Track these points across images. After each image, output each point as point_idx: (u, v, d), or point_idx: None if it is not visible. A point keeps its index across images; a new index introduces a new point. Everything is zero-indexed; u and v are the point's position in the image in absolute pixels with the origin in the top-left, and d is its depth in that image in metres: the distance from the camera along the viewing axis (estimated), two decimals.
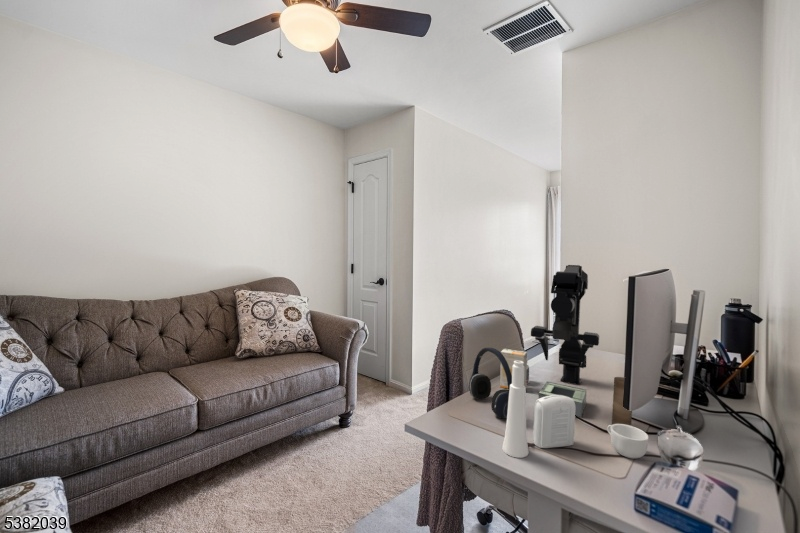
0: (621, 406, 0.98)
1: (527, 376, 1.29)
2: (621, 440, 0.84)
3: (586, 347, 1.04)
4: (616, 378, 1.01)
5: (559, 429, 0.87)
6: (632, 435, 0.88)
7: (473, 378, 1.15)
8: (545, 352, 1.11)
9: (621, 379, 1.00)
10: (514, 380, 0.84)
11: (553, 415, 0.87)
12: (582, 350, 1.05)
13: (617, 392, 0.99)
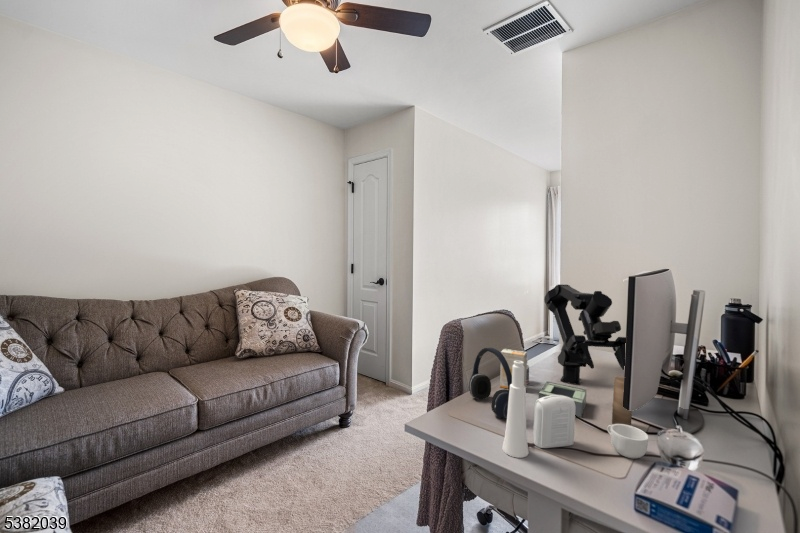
0: (621, 406, 0.98)
1: (527, 376, 1.29)
2: (621, 440, 0.84)
3: None
4: (616, 378, 1.01)
5: (559, 429, 0.87)
6: (632, 435, 0.88)
7: (473, 378, 1.15)
8: (590, 358, 1.09)
9: (621, 379, 1.00)
10: (514, 380, 0.84)
11: (553, 415, 0.87)
12: (622, 352, 1.10)
13: (617, 392, 0.99)
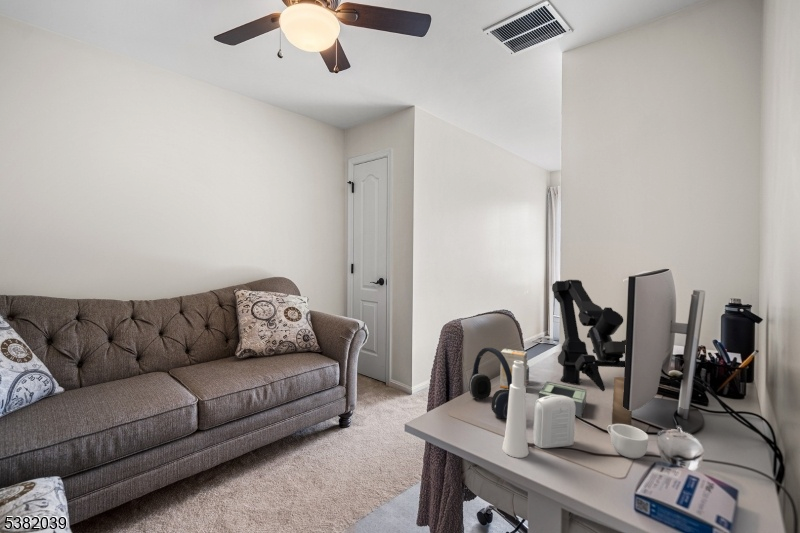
0: (621, 406, 0.98)
1: (527, 376, 1.29)
2: (621, 439, 0.84)
3: None
4: (616, 378, 1.01)
5: (559, 429, 0.87)
6: (632, 435, 0.88)
7: (473, 378, 1.15)
8: (600, 380, 1.02)
9: (621, 379, 1.00)
10: (514, 380, 0.84)
11: (553, 415, 0.87)
12: None
13: (617, 392, 0.99)
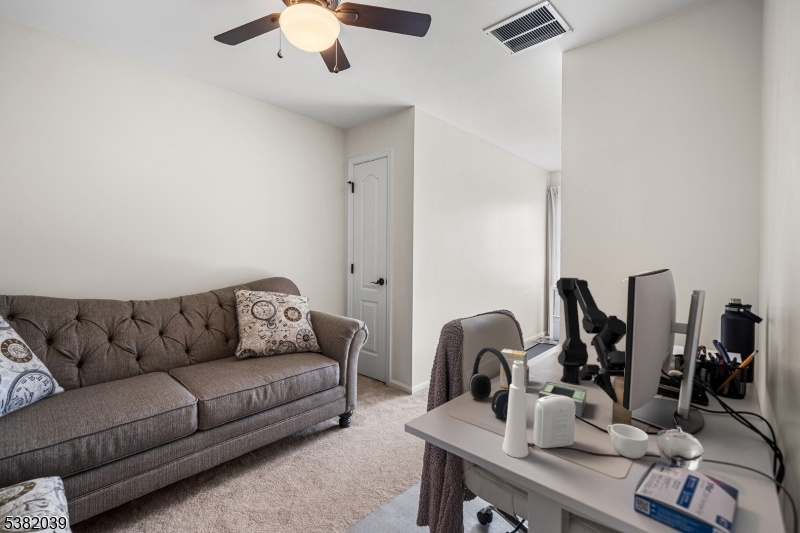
0: (621, 406, 0.98)
1: (527, 376, 1.29)
2: (621, 440, 0.84)
3: None
4: (616, 378, 1.01)
5: (559, 429, 0.87)
6: (632, 435, 0.88)
7: (473, 378, 1.15)
8: (613, 391, 1.00)
9: (621, 379, 1.00)
10: (514, 380, 0.84)
11: (553, 415, 0.87)
12: None
13: (617, 392, 0.99)
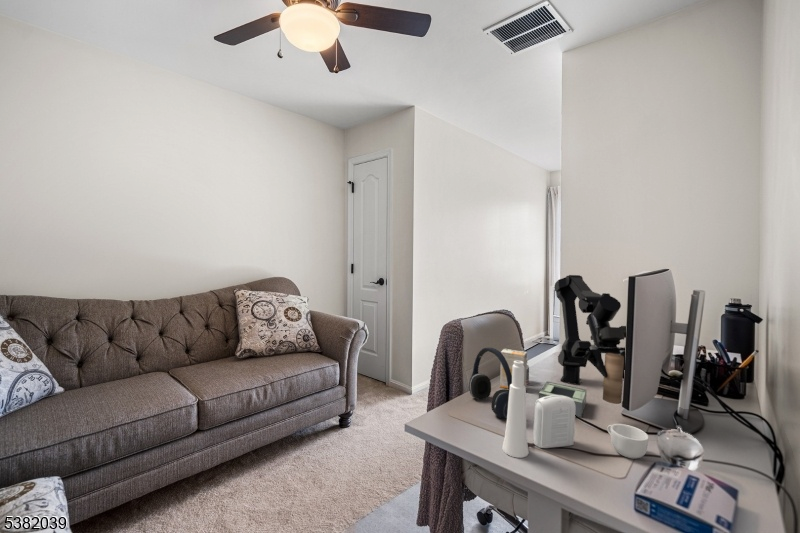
0: (611, 381, 0.99)
1: (527, 376, 1.29)
2: (621, 440, 0.84)
3: None
4: (607, 354, 1.02)
5: (559, 429, 0.87)
6: (632, 435, 0.88)
7: (473, 378, 1.15)
8: (603, 366, 1.01)
9: (612, 355, 1.01)
10: (514, 380, 0.84)
11: (553, 415, 0.87)
12: (624, 359, 1.02)
13: (608, 367, 1.00)
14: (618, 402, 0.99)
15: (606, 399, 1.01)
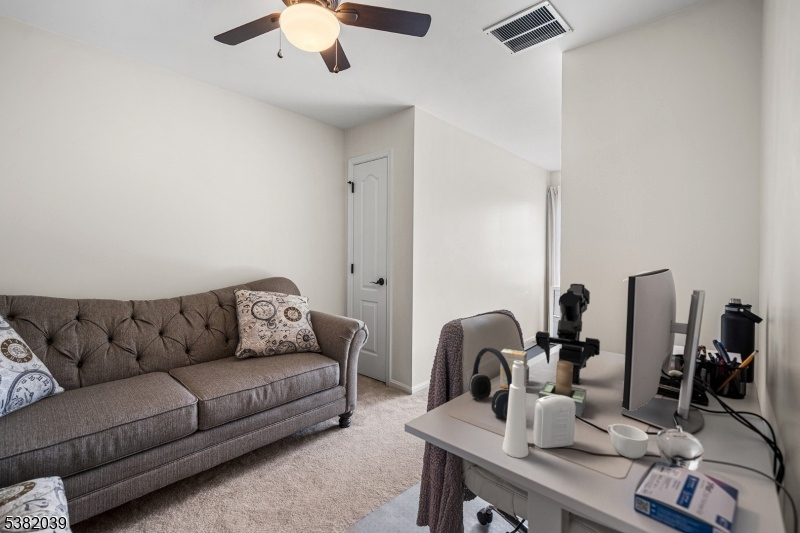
0: (558, 385, 1.11)
1: (527, 376, 1.29)
2: (621, 440, 0.84)
3: (588, 347, 1.09)
4: (560, 361, 1.13)
5: (559, 429, 0.87)
6: (632, 435, 0.88)
7: (473, 378, 1.15)
8: (547, 354, 1.14)
9: (564, 362, 1.12)
10: (514, 380, 0.84)
11: (553, 415, 0.87)
12: (584, 352, 1.10)
13: (557, 372, 1.12)
14: None
15: None
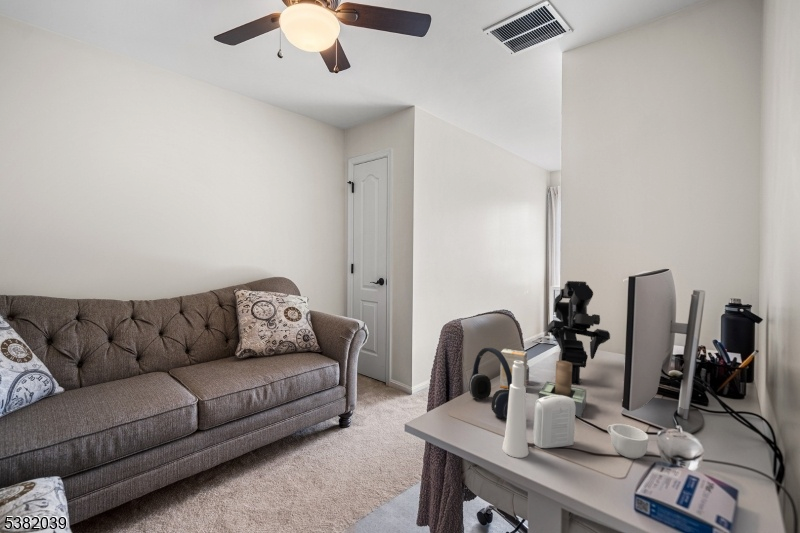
0: (558, 385, 1.11)
1: (527, 376, 1.29)
2: (621, 440, 0.84)
3: (600, 339, 1.18)
4: (559, 361, 1.13)
5: (559, 429, 0.87)
6: (632, 435, 0.88)
7: (473, 378, 1.15)
8: (563, 344, 1.19)
9: (563, 362, 1.12)
10: (514, 380, 0.84)
11: (553, 415, 0.87)
12: (596, 343, 1.18)
13: (556, 372, 1.12)
14: None
15: None
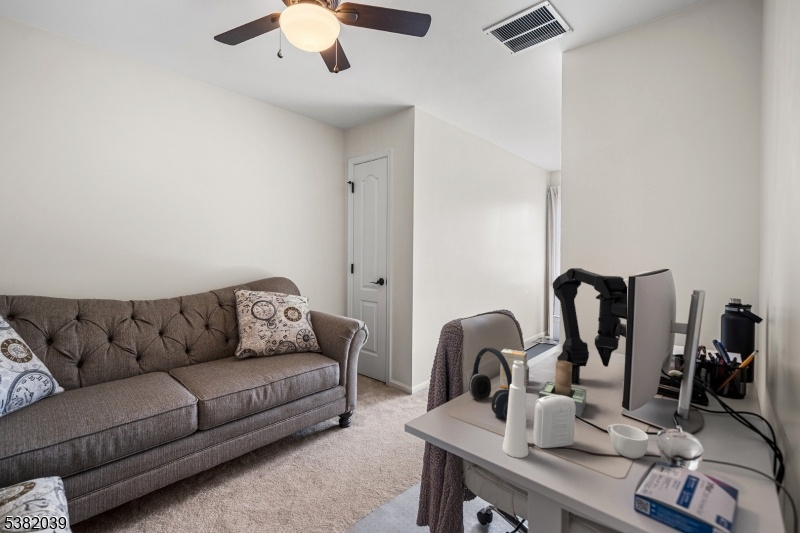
0: (558, 385, 1.11)
1: (527, 376, 1.29)
2: (621, 440, 0.84)
3: None
4: (559, 361, 1.13)
5: (559, 429, 0.87)
6: (632, 435, 0.88)
7: (473, 378, 1.15)
8: (609, 359, 1.10)
9: (563, 362, 1.12)
10: (514, 380, 0.84)
11: (553, 415, 0.87)
12: None
13: (556, 372, 1.12)
14: None
15: None
